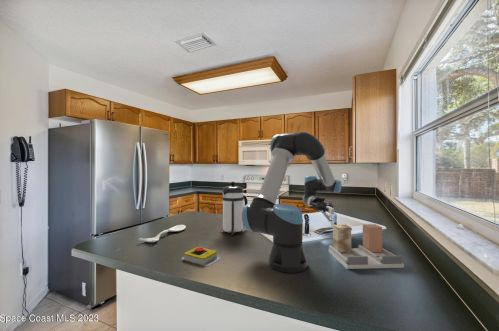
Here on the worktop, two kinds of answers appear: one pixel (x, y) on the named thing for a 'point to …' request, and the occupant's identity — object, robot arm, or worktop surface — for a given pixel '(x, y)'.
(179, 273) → the worktop surface
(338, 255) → the base
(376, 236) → the terracotta slider
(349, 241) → the maple slider
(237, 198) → the coffee press
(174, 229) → the spoon
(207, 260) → the emergency button
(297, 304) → the worktop surface
